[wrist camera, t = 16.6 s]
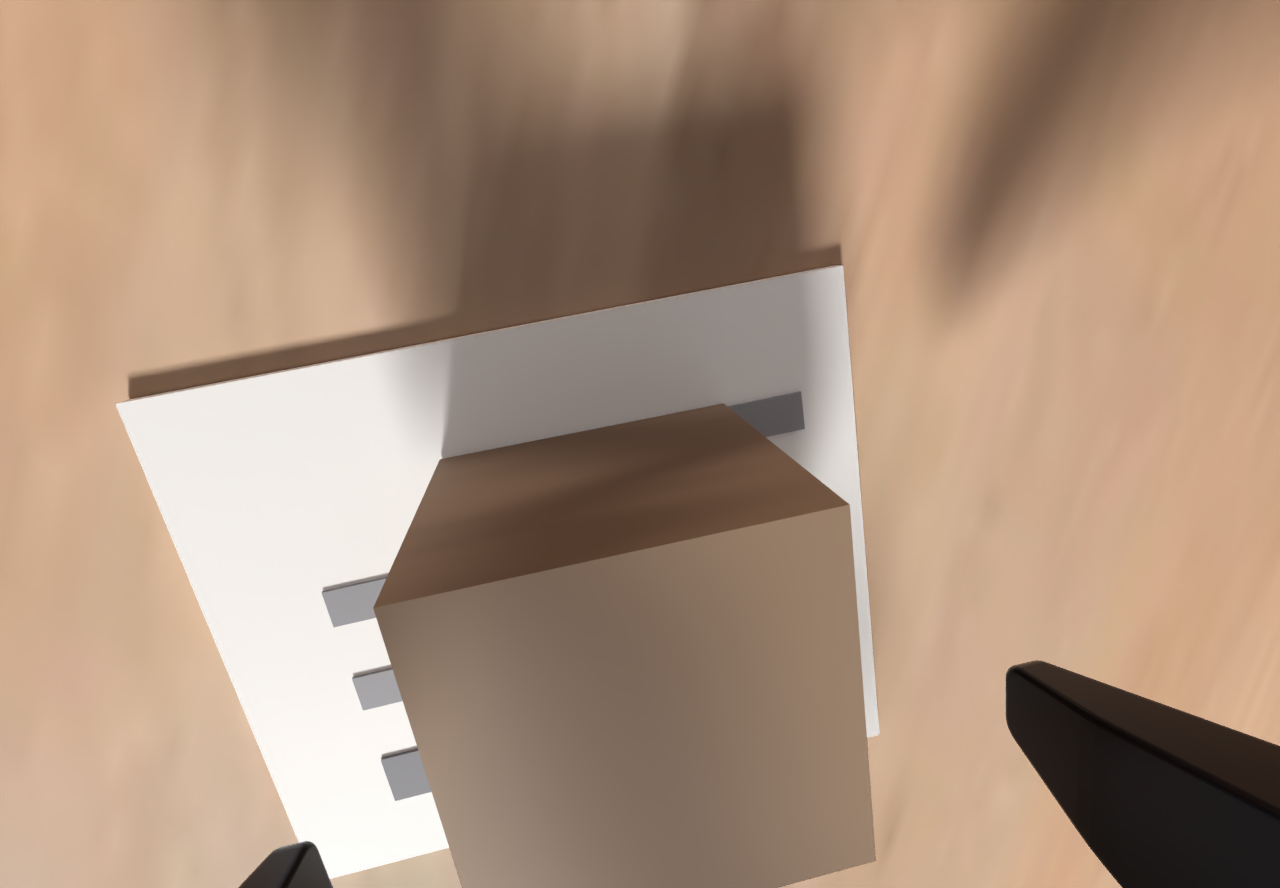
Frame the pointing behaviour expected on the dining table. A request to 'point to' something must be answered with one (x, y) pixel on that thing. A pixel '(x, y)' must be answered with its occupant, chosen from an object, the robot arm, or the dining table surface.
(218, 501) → the letter
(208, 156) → the dining table surface
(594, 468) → the walnut cube
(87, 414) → the dining table surface
